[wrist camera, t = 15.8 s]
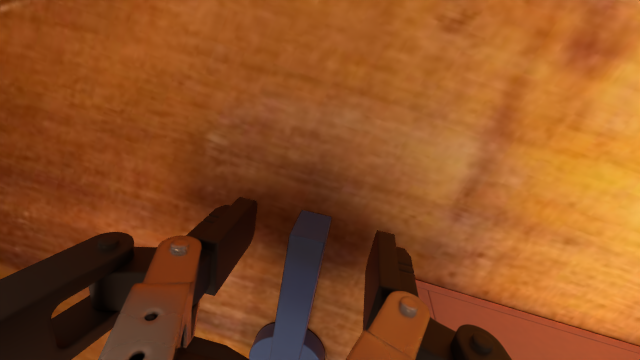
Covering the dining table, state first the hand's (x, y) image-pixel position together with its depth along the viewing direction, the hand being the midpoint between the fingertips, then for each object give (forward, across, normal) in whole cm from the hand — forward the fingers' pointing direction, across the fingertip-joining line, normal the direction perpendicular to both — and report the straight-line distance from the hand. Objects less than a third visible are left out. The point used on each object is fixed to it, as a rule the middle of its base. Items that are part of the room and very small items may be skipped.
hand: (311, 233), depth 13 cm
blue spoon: (+1, 0, +4) cm, 5 cm away
